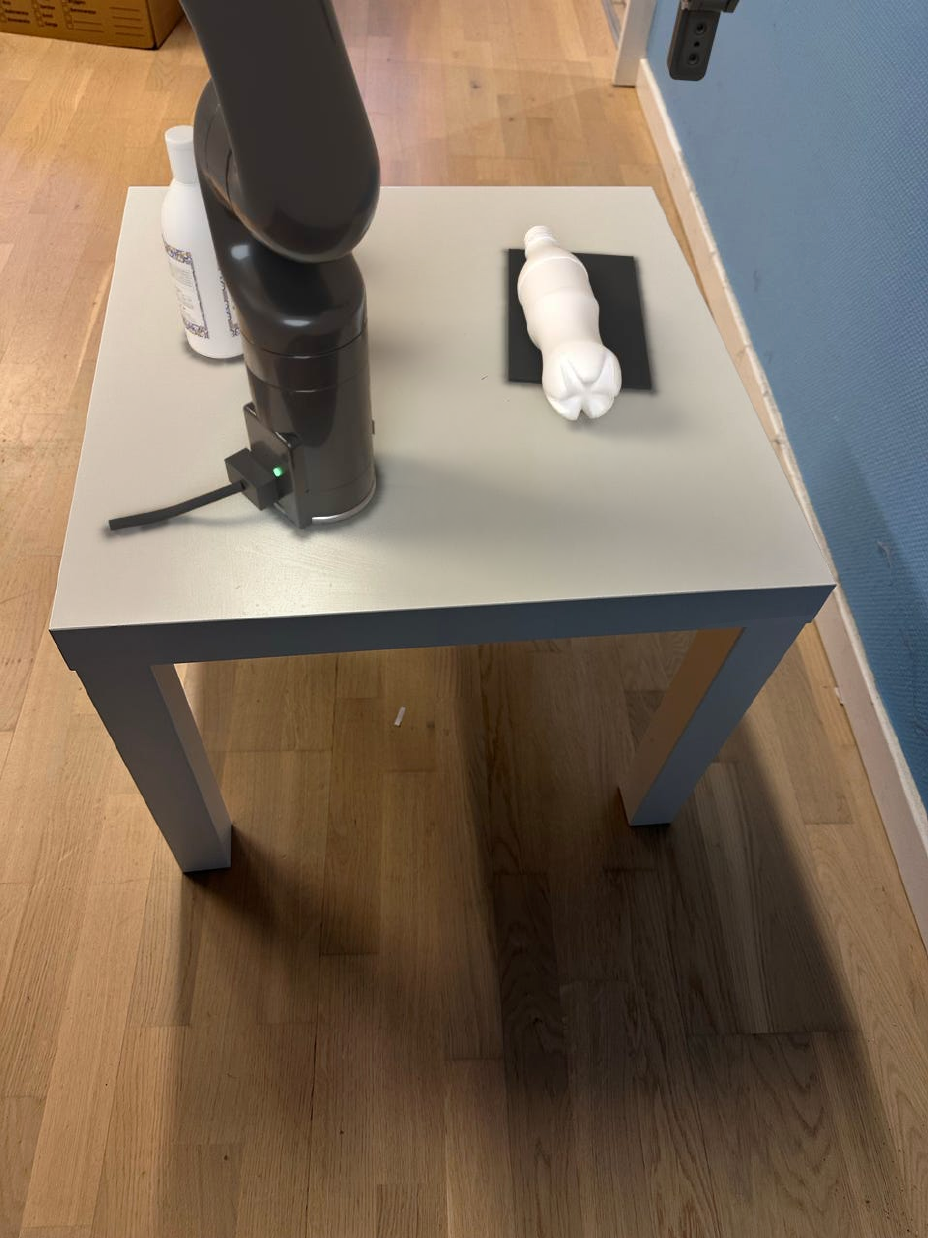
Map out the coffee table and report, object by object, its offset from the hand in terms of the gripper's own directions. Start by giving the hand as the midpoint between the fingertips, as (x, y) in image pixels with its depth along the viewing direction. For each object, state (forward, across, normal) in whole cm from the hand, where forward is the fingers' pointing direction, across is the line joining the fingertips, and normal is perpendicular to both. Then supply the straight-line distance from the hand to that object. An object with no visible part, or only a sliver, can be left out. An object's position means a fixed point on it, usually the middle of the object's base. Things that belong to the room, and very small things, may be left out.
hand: (684, 74), depth 54 cm
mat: (+33, -22, -1) cm, 40 cm away
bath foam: (+33, -15, -36) cm, 51 cm away
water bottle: (+29, -4, -1) cm, 30 cm away
